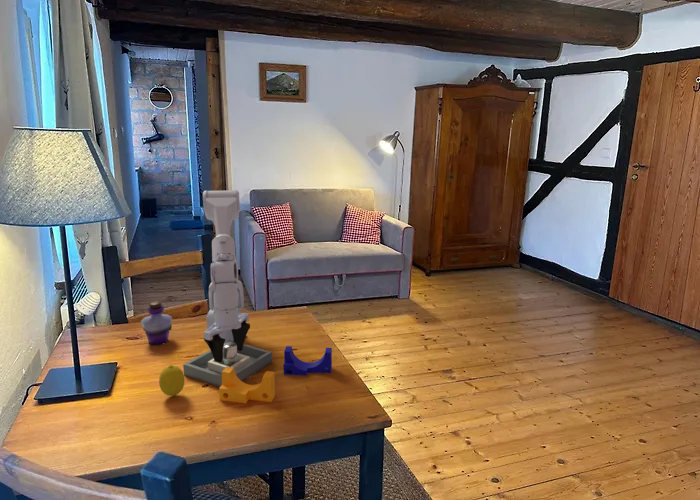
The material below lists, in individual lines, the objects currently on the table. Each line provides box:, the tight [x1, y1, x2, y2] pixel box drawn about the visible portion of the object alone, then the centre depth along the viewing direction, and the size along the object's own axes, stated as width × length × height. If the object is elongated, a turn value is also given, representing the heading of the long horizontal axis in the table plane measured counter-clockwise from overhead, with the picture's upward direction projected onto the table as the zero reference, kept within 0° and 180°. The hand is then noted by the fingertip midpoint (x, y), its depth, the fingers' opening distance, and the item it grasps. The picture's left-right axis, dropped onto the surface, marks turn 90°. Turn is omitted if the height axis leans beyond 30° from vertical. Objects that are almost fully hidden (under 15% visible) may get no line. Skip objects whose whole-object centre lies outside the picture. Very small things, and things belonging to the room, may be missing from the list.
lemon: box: [159, 364, 185, 398], centre depth 116 cm, size 6×6×8 cm
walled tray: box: [182, 340, 273, 388], centre depth 130 cm, size 15×17×3 cm
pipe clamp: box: [218, 367, 276, 404], centre depth 116 cm, size 12×4×6 cm, turn 79°
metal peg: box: [222, 342, 238, 367], centre depth 130 cm, size 4×4×6 cm
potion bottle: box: [140, 300, 173, 346], centre depth 144 cm, size 9×9×12 cm
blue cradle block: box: [282, 345, 333, 377], centre depth 129 cm, size 12×4×6 cm, turn 87°
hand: (228, 355), depth 130 cm, fingers open, 7 cm apart
